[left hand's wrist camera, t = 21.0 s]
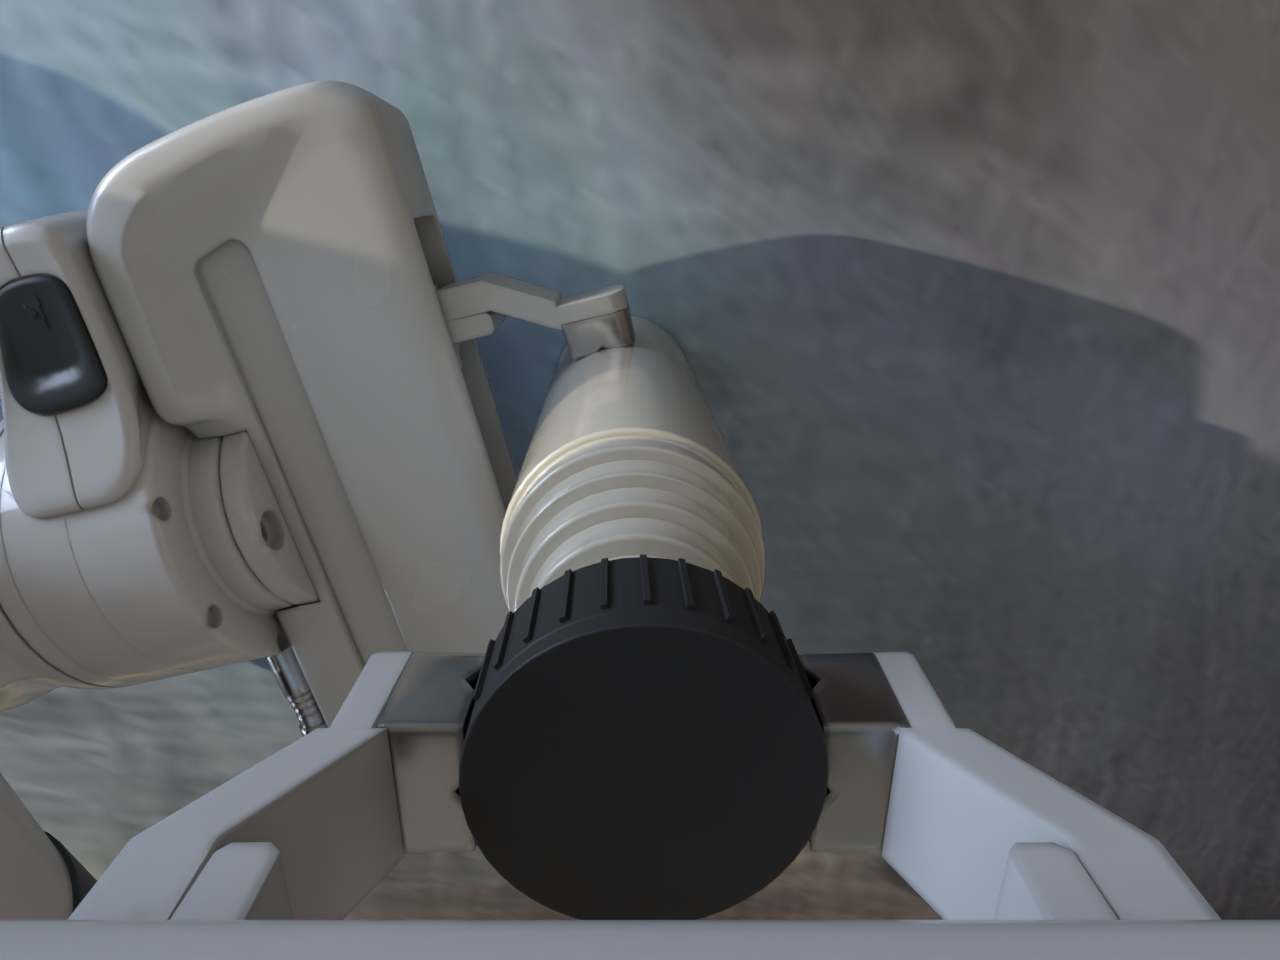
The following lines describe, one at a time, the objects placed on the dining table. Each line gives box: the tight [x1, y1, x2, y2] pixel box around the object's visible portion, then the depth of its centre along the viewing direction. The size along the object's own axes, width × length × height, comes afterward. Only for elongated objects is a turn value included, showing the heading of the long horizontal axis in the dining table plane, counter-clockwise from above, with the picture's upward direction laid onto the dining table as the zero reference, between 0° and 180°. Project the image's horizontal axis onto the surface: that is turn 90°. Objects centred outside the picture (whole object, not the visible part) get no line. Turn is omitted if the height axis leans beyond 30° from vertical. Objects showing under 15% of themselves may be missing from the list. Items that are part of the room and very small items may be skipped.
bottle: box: [500, 316, 766, 613], centre depth 18 cm, size 5×5×20 cm
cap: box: [459, 554, 829, 920], centre depth 9 cm, size 4×4×2 cm
